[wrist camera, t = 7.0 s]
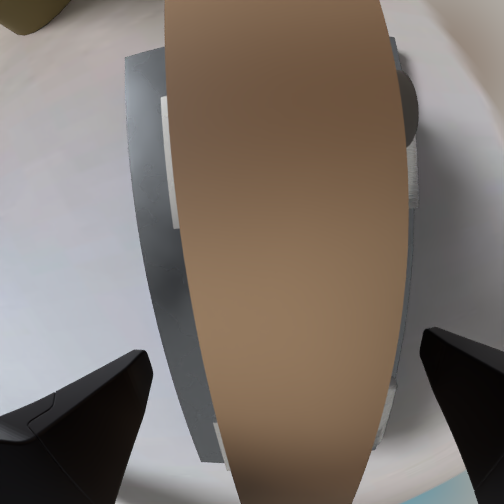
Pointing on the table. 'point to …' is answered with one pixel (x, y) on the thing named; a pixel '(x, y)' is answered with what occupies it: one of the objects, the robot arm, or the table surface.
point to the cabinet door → (292, 229)
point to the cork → (29, 14)
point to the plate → (171, 252)
